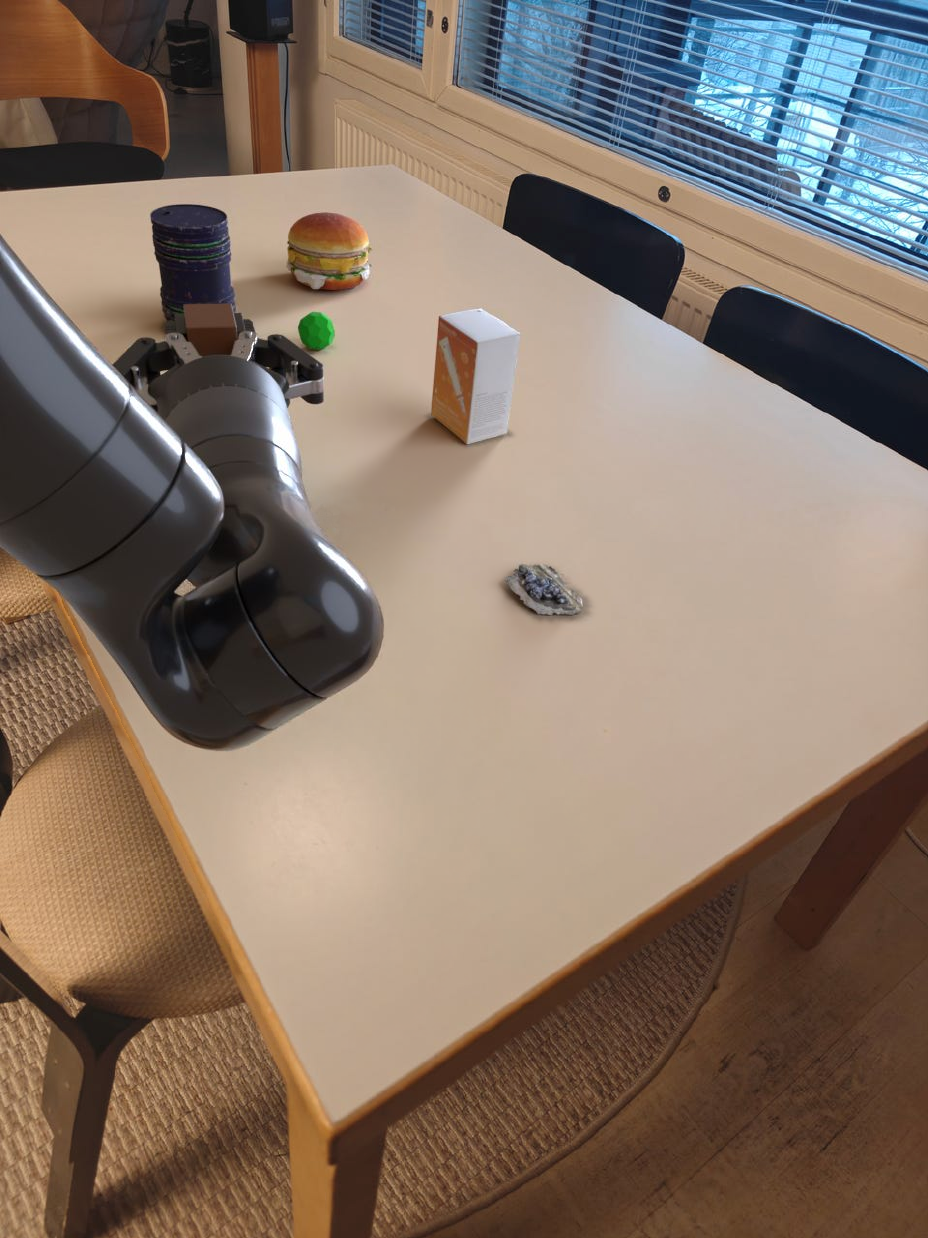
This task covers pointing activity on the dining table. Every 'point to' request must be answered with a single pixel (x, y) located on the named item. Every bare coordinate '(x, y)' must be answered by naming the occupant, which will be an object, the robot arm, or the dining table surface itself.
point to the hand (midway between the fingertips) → (209, 326)
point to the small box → (474, 374)
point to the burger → (328, 251)
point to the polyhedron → (316, 331)
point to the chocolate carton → (211, 328)
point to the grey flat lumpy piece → (544, 590)
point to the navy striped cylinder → (192, 256)
